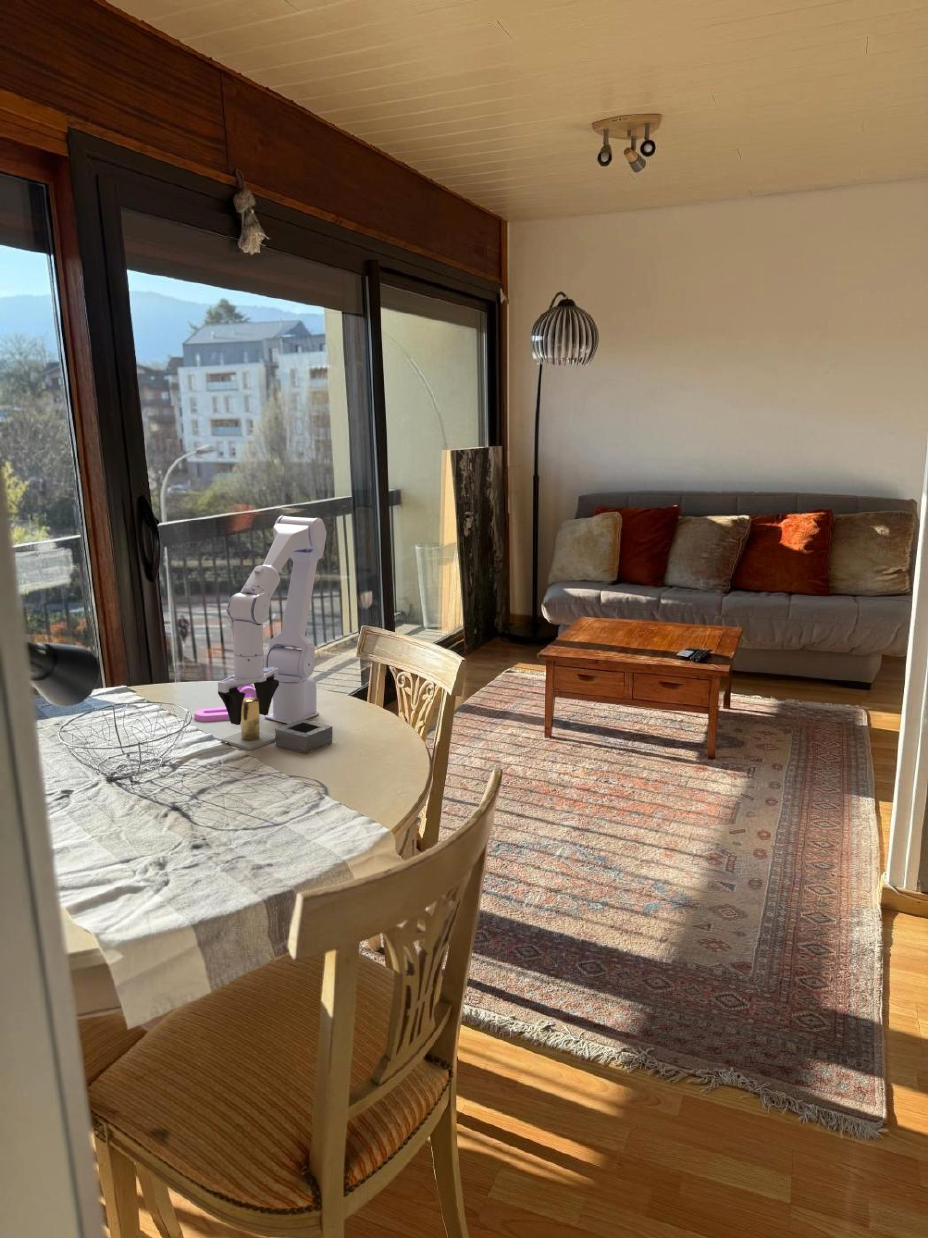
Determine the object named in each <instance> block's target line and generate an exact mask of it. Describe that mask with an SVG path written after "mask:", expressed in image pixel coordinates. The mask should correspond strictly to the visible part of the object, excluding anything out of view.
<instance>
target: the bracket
mask: <svg viewBox="0 0 928 1238" xmlns="http://www.w3.org/2000/svg"><path fill="white" fill-rule="evenodd" d="M238 690H239V692H242V693H245V696H244V698H257V696H256V690H255V687H254V684H250V685H246V686H243V687H239V688H238ZM194 719H196V721H198V722H216V721H230V718H229V715H228V712H227V709H226V706H218V707H206V708H200V709H197V710H195V711H194Z"/></svg>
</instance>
